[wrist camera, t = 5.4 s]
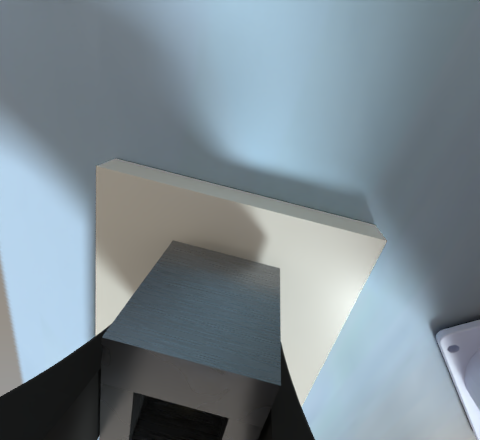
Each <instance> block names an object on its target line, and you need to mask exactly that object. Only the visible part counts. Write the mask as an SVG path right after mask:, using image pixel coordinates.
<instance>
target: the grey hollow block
mask: <svg viewBox="0 0 480 440" xmlns="http://www.w3.org/2000/svg"><path fill="white" fill-rule="evenodd" d="M280 387H281V331H280V268H277V267H273V266H269V265H266V264H262V263H258V262H254V261H250V260H247V259H243V258H239V257H235V256H231V255H227V254H224V253H220V252H216V251H212V250H208V249H205V248H201V247H197V246H193V245H189V244H186V243H182V242H178V241H174V240H173V241H172V242H171V244H170V245H169V246H168V248H167V249H166V250H165V252H164V253H163V254H162V256H161V257H160V259H159V260H158V261H157V263H156V264H155V265H154V267H153V268H152V269H151V271H150V272H149V274H148V275H147V276H146V278H145V279H144V280H143V282H142V283H141V284H140V286H139V287H138V289H137V290H136V291H135V293H134V294H133V295H132V297H131V298H130V299H129V301H128V302H127V304H126V305H125V306H124V308H123V309H122V310H121V312H120V313H119V314H118V316H117V317H116V319H115V320H114V321H113V323H112V324H111V325H110V327H109V328H108V329H107V331H106V332H105V334H104V335H103V336H102V351H101V396H100V440H257V439H258V437H259V435H260V433H261V430H262V428H263V426H264V423H265V421H266V419H267V417H268V414H269V412H270V410H271V407H272V405H273V403H274V400H275V398H276V396H277V394H278V391H279V389H280Z"/></svg>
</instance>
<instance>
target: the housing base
mask: <svg viewBox="0 0 480 440" xmlns="http://www.w3.org/2000/svg"><path fill="white" fill-rule="evenodd" d="M173 240H174V241H178V242H182V243H186V244H189V245H193V246H197V247H201V248H205V249H208V250H212V251H216V252H220V253H224V254H227V255H231V256H235V257H239V258H243V259H247V260H250V261H254V262H258V263H262V264H266V265H269V266H273V267H277V268H280V331H281V343H282V348H283V352H284V356H285V359H286V363H287V366H288V370H289V373H290V376H291V379H292V382H293V385H294V388H295V391H296V394H297V396H298V399H299V402H300V405H301V407H302V405H303V403H304V401H305V399H306V397H307V396H308V394H309V392H310V390H311V388H312V386H313V384H314V382H315V380H316V378H317V376H318V374H319V372H320V370H321V368H322V366H323V364H324V362H325V361H326V359H327V357H328V355H329V353H330V351H331V349H332V347H333V345H334V343H335V341H336V339H337V337H338V335H339V333H340V331H341V329H342V327H343V325H344V324H345V322H346V320H347V318H348V316H349V314H350V312H351V310H352V308H353V306H354V304H355V302H356V300H357V298H358V296H359V294H360V292H361V290H362V289H363V287H364V285H365V283H366V281H367V279H368V277H369V275H370V273H371V271H372V269H373V267H374V265H375V263H376V261H377V259H378V257H379V255H380V253H381V252H382V250H383V248H384V246H385V244H386V242H387V240H386V239H385V237H384V236H383V235H382V233H381V232H380V231H379V229H378V228H377V227H376V225H374V224H370V223H366V222H362V221H358V220H354V219H350V218H346V217H342V216H339V215H335V214H331V213H327V212H323V211H319V210H315V209H311V208H307V207H303V206H300V205H296V204H292V203H288V202H284V201H280V200H276V199H272V198H268V197H264V196H261V195H257V194H253V193H249V192H245V191H241V190H237V189H233V188H229V187H225V186H222V185H218V184H214V183H210V182H206V181H202V180H198V179H194V178H190V177H186V176H183V175H179V174H175V173H171V172H167V171H163V170H159V169H155V168H151V167H147V166H144V165H140V164H136V163H132V162H128V161H124V160H120V159H116V158H115V159H113V160H110V161H107V162H105V163H102V164H100V165H97V166H96V330H95V336H96V335H98V334H99V333H100V332H102V331H103V330H104V329H105V328H107V327H108V326H109V325H111V324H112V323H113V321H114V320H115V319H116V317H117V316H118V314H119V313H120V312H121V310H122V309H123V308H124V306H125V305H126V304H127V302H128V301H129V299H130V298H131V297H132V295H133V294H134V293H135V291H136V290H137V289H138V287H139V286H140V284H141V283H142V282H143V280H144V279H145V278H146V276H147V275H148V274H149V272H150V271H151V269H152V268H153V267H154V265H155V264H156V263H157V261H158V260H159V259H160V257H161V256H162V254H163V253H164V252H165V250H166V249H167V248H168V246H169V245H170V244H171V242H172V241H173Z"/></svg>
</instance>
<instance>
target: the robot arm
mask: <svg viewBox="0 0 480 440" xmlns="http://www.w3.org/2000/svg"><path fill="white" fill-rule="evenodd" d="M109 327H110V325H109V326H108V327H107V328H105V329H104V330H103V331H102V332H100V333H99V334H98V335H96V336H95V337H94V338H92V339H91V340H90V341H88V342H87V343H86V344H84V345H83V346H81V347H80V348H79V349H77V350H76V351H74V352H73V353H71V354H70V355H69V356H67V357H66V358H64V359H63V360H61V361H60V362H58V363H57V364H55V365H54V366H52V367H50V368H49V369H47V370H46V371H44V372H42V373H41V374H39V375H37V376H36V377H34V378H32V379H31V380H29V381H27V382H26V383H24V384H22V385H20V386H18V387H17V388H15V389H13V390H11V391H10V392H8V393H6V394H4V395H3V396H1V397H0V440H97V439H98V437H99V435H100V396H101V351H102V336H103V335H104V334H105V332H106V331H107V329H108V328H109ZM436 340H437V343H438V345H439V347H440V350H441V352H442V355H443V357H444V360H445V362H446V365H447V367H448V370H449V372H450V375H451V377H452V380H453V382H454V385H455V387H456V390H457V392H458V395H459V397H460V400H461V402H462V405H463V407H464V410H465V412H466V415H467V417H468V420H469V422H470V425H471V427H472V430H473V432H474V435H475V437H476V439H477V440H480V320H476V321H473V322H469V323H465V324H461V325H458V326H454V327H450V328H446V329H443V330H441V331H439V332H438V333H437V335H436ZM451 345H452V346H451ZM257 440H315V439H314V437H313V434H312V432H311V430H310V427H309V425H308V422H307V420H306V417H305V415H304V413H303V410H302V407H301V405H300V402H299V399H298V396H297V394H296V391H295V388H294V385H293V382H292V379H291V376H290V373H289V370H288V366H287V363H286V359H285V356H284V352H283V348H282V343H281V387H280V389H279V391H278V394H277V396H276V398H275V400H274V403H273V405H272V407H271V410H270V412H269V414H268V417H267V419H266V421H265V423H264V426H263V428H262V430H261V433H260V435H259V437H258V439H257Z"/></svg>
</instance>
